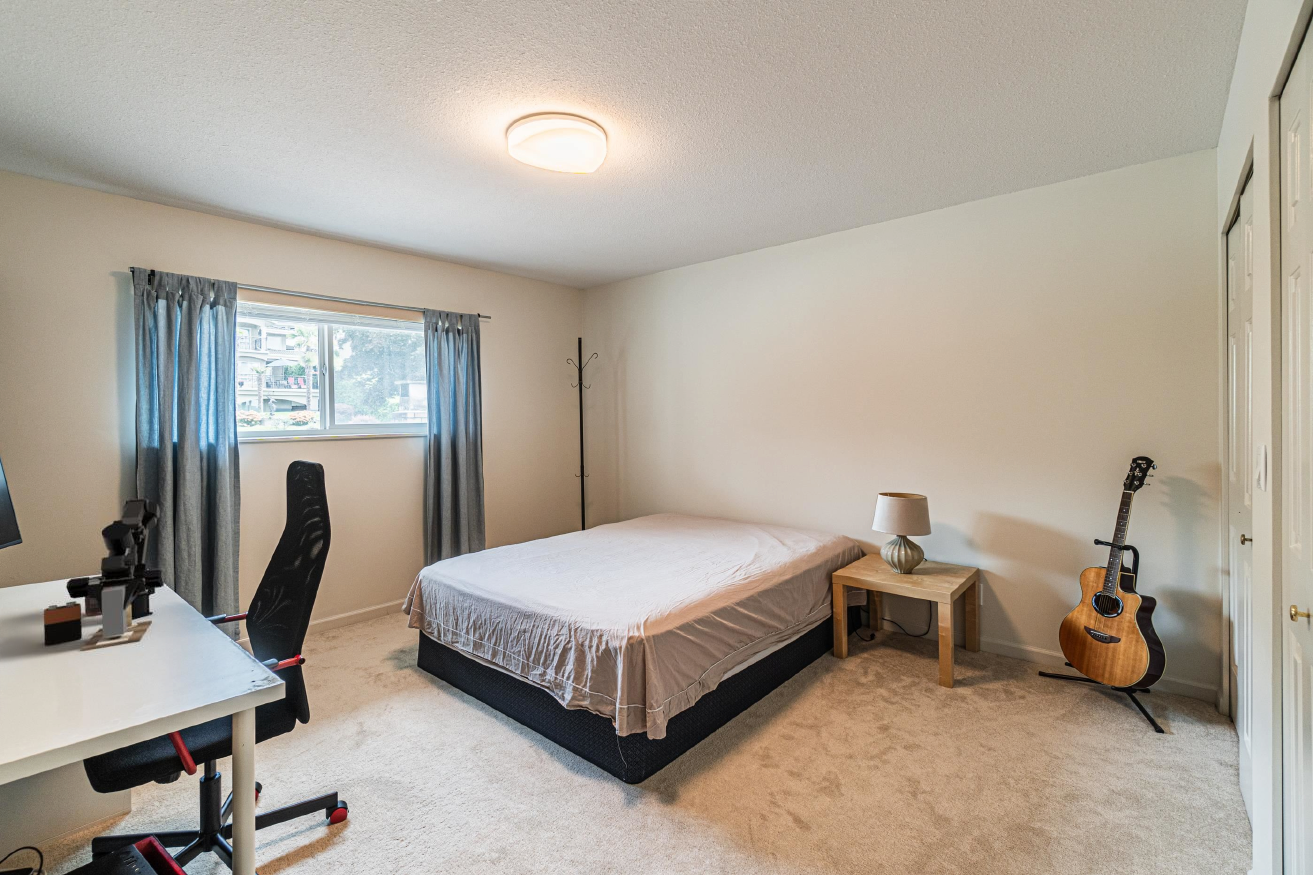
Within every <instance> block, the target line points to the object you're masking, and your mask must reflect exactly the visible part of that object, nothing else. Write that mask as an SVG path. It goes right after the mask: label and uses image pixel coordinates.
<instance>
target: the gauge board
mask: <svg viewBox="0 0 1313 875" xmlns="http://www.w3.org/2000/svg"><path fill="white" fill-rule="evenodd" d="M126 616H127V630H126V632H125V633H124V634H121V635H115V636H109V637H103V627H101V628H99V629H98V630H97V631H96V632H95V633H94V634H93V635H92V636H91V637H90V639H89V640H88V641H87V642H86V643H85V644H84V645H83V646H82V647H81V648H80V649H81V652H83V651H90V650H95V649H102V648H108V647H113V646H114V647H115V646H119V645H120V646H121V645H126V644H132V643H138V642H140V641H141V640H142V639H143V637H144V636H145V634H146V633H147V631H148V629H149V628H150V626H151V625H152V623H153V620H145V621H140V622H133V619H132V611H131V604H130V605H129V606H128V607H127V608H126Z"/></svg>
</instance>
